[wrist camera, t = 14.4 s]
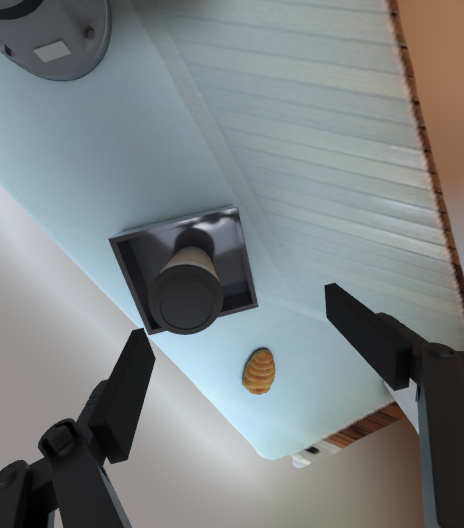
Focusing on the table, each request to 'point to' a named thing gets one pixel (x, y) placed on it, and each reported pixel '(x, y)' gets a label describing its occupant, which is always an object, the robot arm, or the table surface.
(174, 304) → the coffee cup
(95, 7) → the robot arm
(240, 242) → the dark grey open box
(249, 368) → the pastry
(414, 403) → the foam cup
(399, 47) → the table surface
